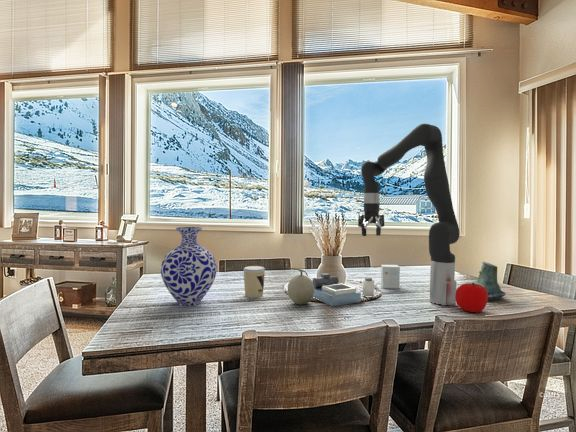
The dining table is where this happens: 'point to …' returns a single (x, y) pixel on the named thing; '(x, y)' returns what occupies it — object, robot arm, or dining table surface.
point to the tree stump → (490, 281)
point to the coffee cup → (254, 281)
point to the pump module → (368, 287)
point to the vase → (188, 269)
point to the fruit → (300, 288)
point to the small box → (390, 276)
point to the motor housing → (334, 291)
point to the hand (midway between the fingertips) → (371, 235)
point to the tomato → (471, 297)
